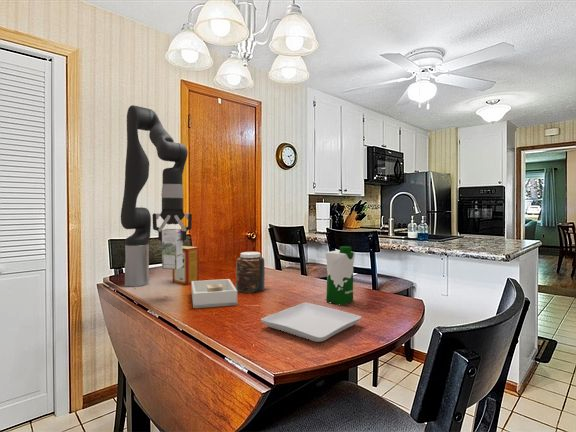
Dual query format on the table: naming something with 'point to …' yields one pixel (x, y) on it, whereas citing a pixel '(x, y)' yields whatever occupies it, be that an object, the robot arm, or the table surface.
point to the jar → (250, 272)
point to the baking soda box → (188, 266)
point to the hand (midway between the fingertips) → (172, 241)
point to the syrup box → (172, 249)
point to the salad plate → (311, 321)
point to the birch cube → (214, 288)
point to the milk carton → (340, 275)
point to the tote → (213, 294)
